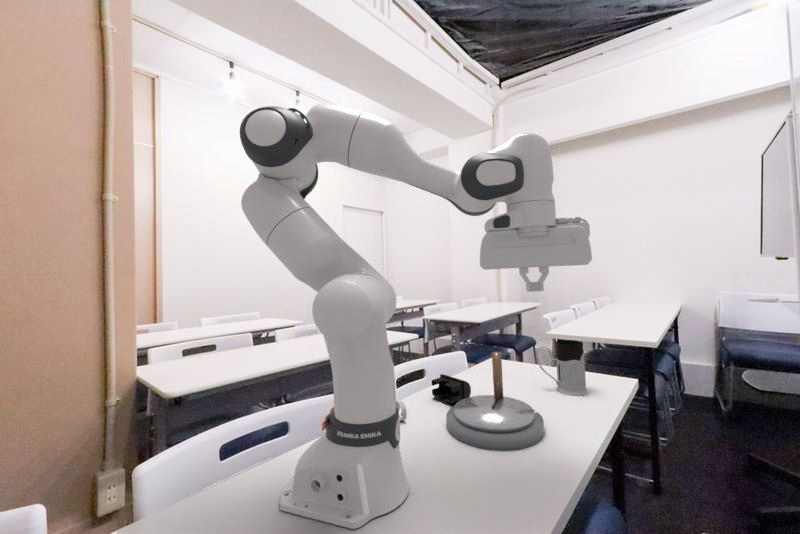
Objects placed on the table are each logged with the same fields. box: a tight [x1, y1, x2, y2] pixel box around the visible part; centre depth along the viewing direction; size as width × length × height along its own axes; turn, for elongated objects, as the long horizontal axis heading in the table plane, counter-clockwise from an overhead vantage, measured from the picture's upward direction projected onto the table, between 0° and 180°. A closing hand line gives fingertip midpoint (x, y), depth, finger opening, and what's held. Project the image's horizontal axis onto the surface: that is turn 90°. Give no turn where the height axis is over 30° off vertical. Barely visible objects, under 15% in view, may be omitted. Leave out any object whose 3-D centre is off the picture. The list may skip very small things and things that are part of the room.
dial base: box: [446, 406, 545, 451], centre depth 85 cm, size 23×23×3 cm
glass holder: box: [535, 339, 589, 397], centre depth 107 cm, size 9×14×15 cm, turn 75°
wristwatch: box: [396, 399, 408, 422], centre depth 91 cm, size 3×5×5 cm, turn 29°
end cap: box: [431, 373, 472, 408], centre depth 104 cm, size 10×7×7 cm
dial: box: [454, 351, 535, 433], centre depth 85 cm, size 19×19×14 cm
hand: (534, 291), depth 66 cm, fingers closed
